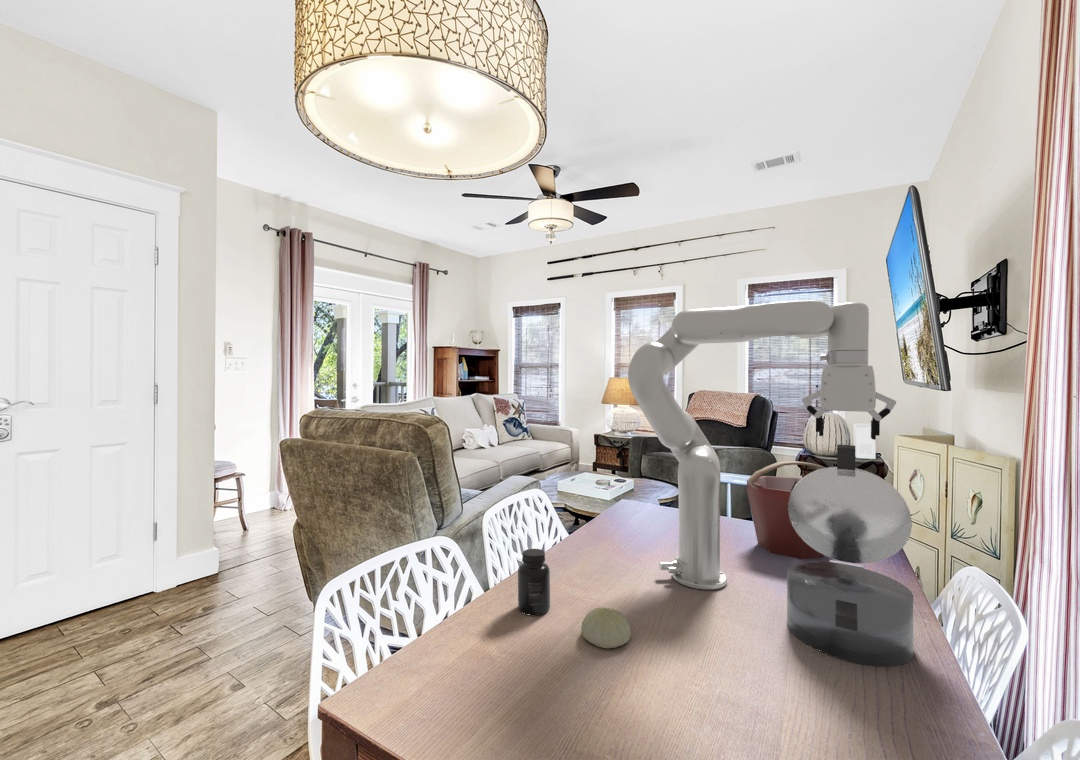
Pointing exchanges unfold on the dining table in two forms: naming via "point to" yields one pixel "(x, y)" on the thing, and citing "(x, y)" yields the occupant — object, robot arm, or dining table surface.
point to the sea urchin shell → (606, 628)
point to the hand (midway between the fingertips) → (846, 437)
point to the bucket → (777, 512)
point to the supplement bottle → (533, 583)
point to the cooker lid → (849, 512)
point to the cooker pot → (850, 612)
